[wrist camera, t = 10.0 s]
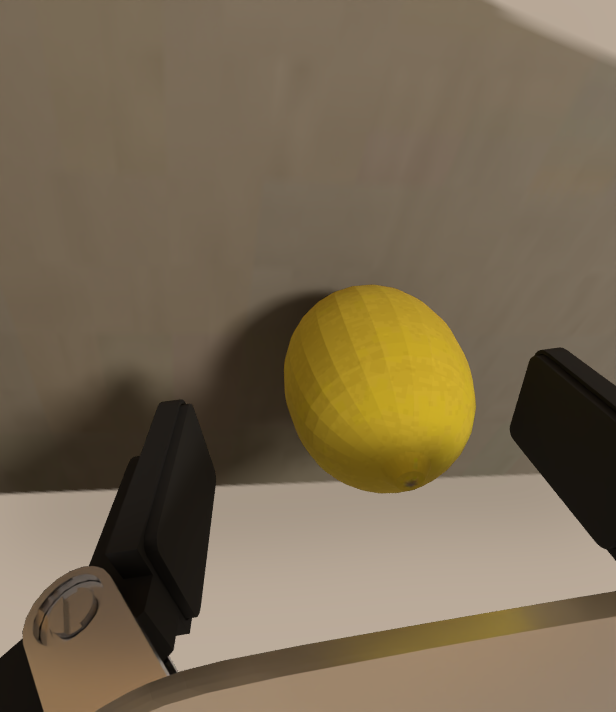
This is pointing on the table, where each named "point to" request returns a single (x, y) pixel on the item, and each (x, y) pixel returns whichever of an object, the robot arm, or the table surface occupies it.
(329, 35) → the table surface
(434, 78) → the table surface
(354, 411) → the lemon
